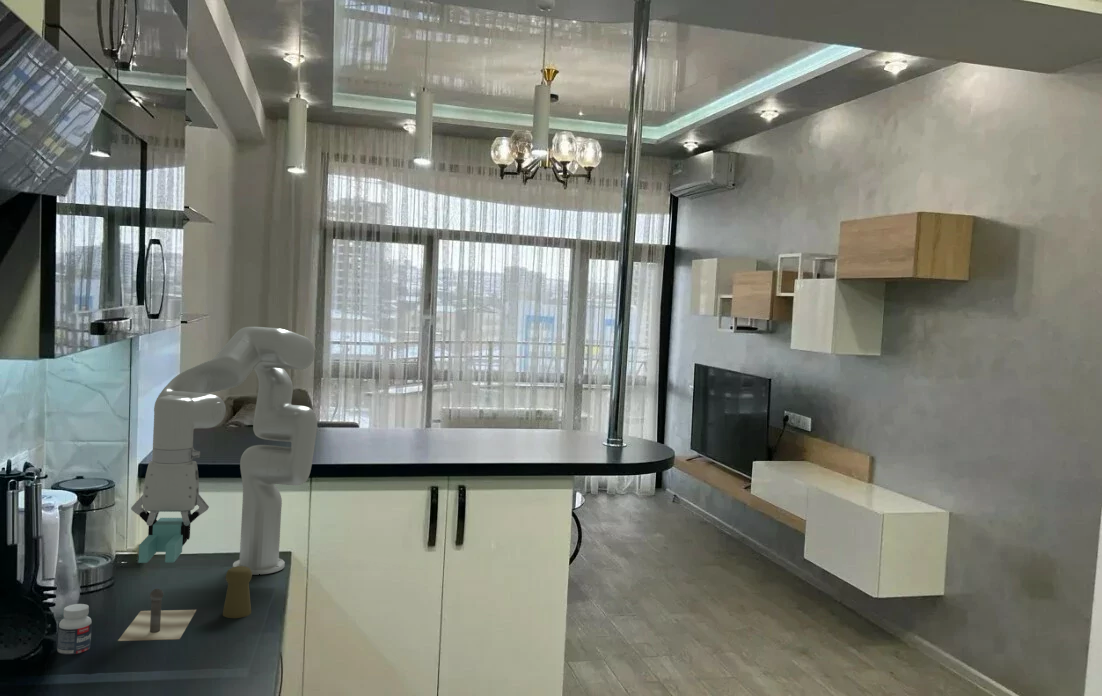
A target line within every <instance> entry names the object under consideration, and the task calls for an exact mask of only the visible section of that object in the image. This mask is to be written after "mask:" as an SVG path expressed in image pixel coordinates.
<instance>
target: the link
mask: <svg viewBox="0 0 1102 696" xmlns="http://www.w3.org/2000/svg"><path fill="white" fill-rule="evenodd" d="M182 525H183V519H182V517H159V518H158V520H157V522H156V523H155V524H154V525H153V535H148V534H147V536H146V537H145V539H143V540H142V541H141V543H140V544H139V545H138V564H140V563H141V564H146V563H149V562H150V560H152V558H153V557H154V556H155V555H156V553H165V558H164V563H175V561H177V560H178V558H179V557H180V555H181V554H182V553H183V547H184V545H182V543H183V535H181V526H182Z"/></svg>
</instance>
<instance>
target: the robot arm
mask: <svg viewBox="0 0 1102 696" xmlns="http://www.w3.org/2000/svg"><path fill="white" fill-rule="evenodd" d="M314 358H315V347H314V344H313V342H312V341H311V339H310V338H308V336H304V335H301V334H299V333H297V332H294V331H291V330H287V329H284V328H277V327H266V326H265V327H264V326H245V327H241V328H240V329H238V330H237V331H235V334H233V335H232V337H231V338H230V339H229V340H228V341H227V342H226V344H225V345H224V346H223V347H222V348H221V350H219V352H218V353H217V354H216V355H215V356H214V357H213V358H211V359H210V360H206V361H204V362H202V363H200V364H197V365H195V366H193V367H191V368H189V369H186V370H184V371H182V372H181V373H179V374H177V375H175V376H174V377H173V378H172V379H171V380H170V381H169V382H168V384H167V385H166V386H164V388H163V389H162V390H161V392H160V393H159V394H158V396H157V397H156V400H155V401H154V407H153V430H152V431H153V435H152V453H151V454H152V455H151V457H152V458H151V459H152V460H150V461H149V462H148V465H147V468H146V473H145V478H144V484H143V491H142V495H141V496H140V497H139V498H138V500H137V501H136V502H135V503H133V505H132V506H131V507H130V509H131V511H132V512H134V513H135V514H136V515H138V516H139V517H140V518H141V519H142V520H143V521H144V522H145V523H146V525H147V526H148V530H147V536H148V535H153V525H154V524H155V523H156V522H157V521H158V520H157V518H158V516H159V513H160V512H164V513H165V512H170V513H171V512H173V513H174V512H175V513H177V512H178V513H179V512H180V515H181V518H182V519H183V525H182V526H181V535H183V543H182V545H183V546H184V545H185V544H186V543H187V541H188V540H190V538H191V523H193V522H194V521H195V520H197V518H198V517H199V516H201V515H202V514H204V513H205V512H207V511H208V509H209V507H210V506H209V505H208V504H207V502H206V501H205V499H203V498H202V496H201V495H200V487H199V486H200V482H199V470H198V468H199V467H198V463H197V461H195V460H194V459H196V458H201V457H200V456H201V451H200V450H196V449H194V448H195V447H194V430H195V429H211V428H214V427H217V426H218V425H219V424H221V423H222V421H223V420H224V418H225V416H226V411H227V409H226V408H227V407H226V404H225V401H224V400H223V399H222V398H221V397H220V396H218V395H215V394H213V393H215V392H216V393H217V392H221V391H226V390H229V389H232V388H236V387H239V386H240V385H242V384H243V383H244V382H245V381H246V379H248V377H249V376H250V374H251V373H252V372H253V371H255V374H256V376H257V380H258V391H257V396H256V402H255V403H256V404H255V410H254V417H253V425H252V427H253V428H252V430H253V433H254V435H255V437H257V438H259V439H262V440H267V441H268V440H269V441H275V442H276V441H277V442H286V443H288V442H289V443H291V446H280V445H271V444H270V445H267V444H257V445H256V444H255V445H251V446H249V447H248V448H246V449H245V450H244V452H243V453H242V455H241V456H240V459H239V461H240V462H239V463H240V464H239V466H240V467H239V469H240V475H241V483H242V508H241V524H240V525H241V528H240V544H239V545H240V546H239V548H240V549H239V559H238V560H235V561H234V562H233V563H232V567H237V566H245V567H248V568H250V570H251V571H252V576H253V575H254V576H255V575H257V576H258V575H259V574H260V575H268V574H273V573H277V572H279V571H281V570H283V569H284V568H285V565H286V564H285V563H286V562H285V561H284V560H283V559H282V558H280V543H281V541H280V538H281V522H282V521H281V520H282V504H283V503H282V501H283V499H282V495H281V492H280V490H279V488H278V487H277V485H282V486H283V485H285V486H301V485H303V484H305V483H306V482H307V481H308V479H309V477H310V474H311V470H312V466H313V458H314V451H315V447H316V445H315V444H316V439H317V430H318V420H317V416H316V415H317V414H316V413H315V411H314V410H313V408H310V407H309V406H306V405H297V404H292V400H293V391H294V385H293V382H292V379H291V377H290V376H289V373H288V371H286V370H298V371H299V370H302V371H303V370H306V369H308V368H309V367H310V366H311V365H312V363H313V361H314V360H315V359H314ZM285 369H286V370H285ZM196 506H198V509H196V510H194V509H195V507H196ZM193 510H194V511H193ZM192 511H193V512H192Z"/></svg>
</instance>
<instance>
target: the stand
mask: <svg viewBox="0 0 1102 696" xmlns="http://www.w3.org/2000/svg"><path fill="white" fill-rule="evenodd" d="M149 597H150V600H151V603H150V610H140V611H139V612H138V614H137V615H136V616H135V618H134V619H133V620H132V622H130V624H129V625H128V627H127V628H126V629H125V630H124V631H123V633H122V635H121V636H120V637H119V639H117V642H128V641H129V642H131V641H132V642H133V641H165V640H166V641H170V640H173V641H174V640H181V638H182V636H183V634H184V633H185V631H186V629H187V628H188V626H189V624H190V622H191V621H192V619H193V617H194V615H195V614H196V612H197V609H168V610H162V599H163V597H164V591H163V589H160V588H155V589H153V590H151V592H150V593H149Z"/></svg>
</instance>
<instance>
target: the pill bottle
mask: <svg viewBox="0 0 1102 696" xmlns="http://www.w3.org/2000/svg"><path fill="white" fill-rule="evenodd" d="M89 609H90V607H89V605H88V604H84V603H75V604H69V605H67V606H65V607H64V608H63V619H61V620H60V622H59V623H58V634H57V648H56V649H57V653H58V654H60V655H77V654H81V653H83V652H86V651H88V650H90V648H91V642H92V624H93V623H92V618H91V617H90V616H89V612H90V611H89Z"/></svg>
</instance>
